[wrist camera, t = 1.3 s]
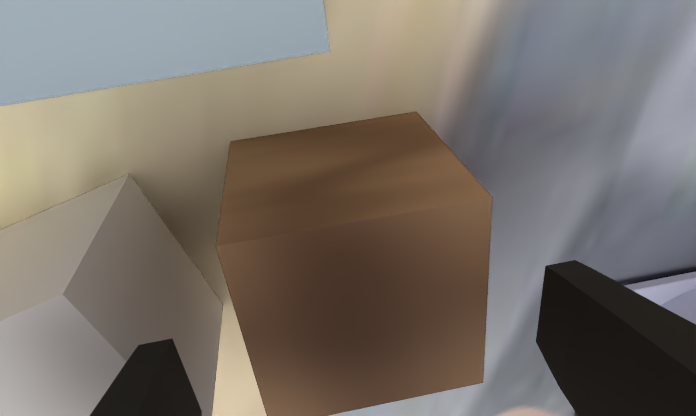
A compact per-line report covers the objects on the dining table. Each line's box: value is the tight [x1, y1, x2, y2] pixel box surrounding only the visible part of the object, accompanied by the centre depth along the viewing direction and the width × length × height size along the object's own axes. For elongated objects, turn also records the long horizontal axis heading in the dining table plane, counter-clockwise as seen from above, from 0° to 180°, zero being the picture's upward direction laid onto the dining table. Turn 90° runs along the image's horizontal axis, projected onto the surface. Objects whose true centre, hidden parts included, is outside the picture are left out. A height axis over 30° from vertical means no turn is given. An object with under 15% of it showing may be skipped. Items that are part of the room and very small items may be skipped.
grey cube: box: [0, 174, 223, 416], centre depth 12 cm, size 5×5×5 cm
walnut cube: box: [216, 112, 492, 416], centre depth 12 cm, size 5×5×5 cm
